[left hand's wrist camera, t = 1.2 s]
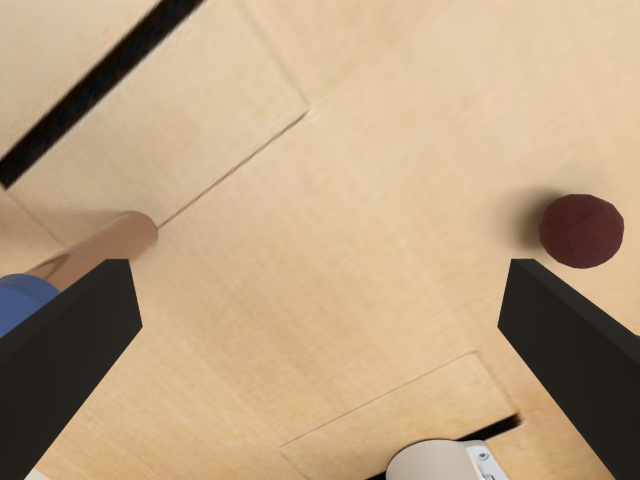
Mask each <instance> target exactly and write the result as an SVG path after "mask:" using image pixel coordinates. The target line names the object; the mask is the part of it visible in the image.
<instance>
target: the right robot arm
mask: <svg viewBox="0 0 640 480" xmlns="http://www.w3.org/2000/svg"><path fill="white" fill-rule="evenodd" d="M386 480H510V479H509V478H508V476H507V475H506V473H505V472H504V470H503V469H502V467H501V466H500V464H499V463H498V461H497V460H496V458H495V457H494V455H493V454H492V453H491V451H490V450H489V448H488V447H487V445H486V444H485V442H483V441H481V440H471V441H464V442H457V441H450V440H429V441H424V442H420V443H417V444H414V445H412V446H409V447H407V448H406V449H404V450H402V451H401V452H400V453H398V454H397V455H396V456H395V457H394V458H393V460H392V461H391V462H390V464H389V466H388V468H387V472H386Z"/></svg>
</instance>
